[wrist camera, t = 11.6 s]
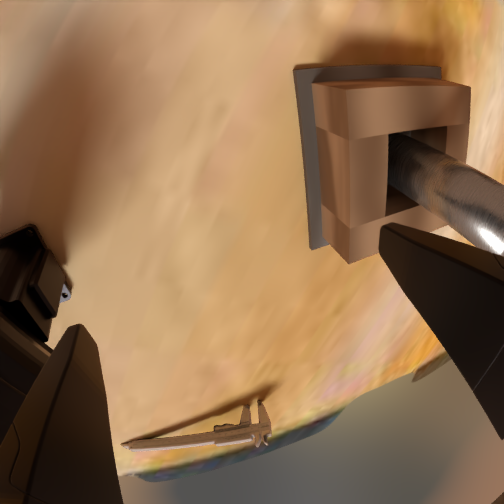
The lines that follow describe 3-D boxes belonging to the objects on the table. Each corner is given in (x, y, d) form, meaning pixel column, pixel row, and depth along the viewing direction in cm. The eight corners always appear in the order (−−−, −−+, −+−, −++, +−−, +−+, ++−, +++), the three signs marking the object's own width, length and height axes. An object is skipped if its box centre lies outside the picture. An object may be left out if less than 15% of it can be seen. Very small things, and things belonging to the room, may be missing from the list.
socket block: (309, 247, 26) (336, 279, 23) (292, 70, 18) (328, 73, 14) (430, 206, 28) (460, 227, 25) (437, 66, 20) (477, 75, 17)
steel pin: (363, 180, 24) (490, 277, 13) (363, 131, 21) (512, 213, 11) (400, 170, 24) (523, 254, 14) (402, 125, 22) (541, 197, 12)
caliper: (260, 397, 37) (277, 438, 32) (261, 400, 38) (279, 441, 33) (120, 442, 35) (125, 482, 30) (124, 444, 36) (130, 484, 31)
